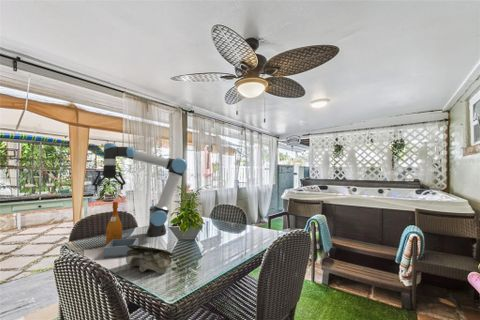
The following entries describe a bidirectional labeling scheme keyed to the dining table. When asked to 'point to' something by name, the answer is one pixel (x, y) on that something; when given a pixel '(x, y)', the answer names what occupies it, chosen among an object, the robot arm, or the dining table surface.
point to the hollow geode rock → (149, 258)
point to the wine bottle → (114, 226)
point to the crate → (119, 247)
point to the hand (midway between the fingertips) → (109, 195)
